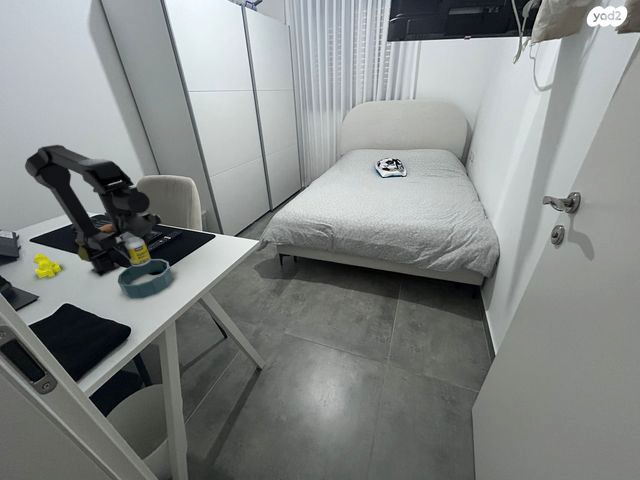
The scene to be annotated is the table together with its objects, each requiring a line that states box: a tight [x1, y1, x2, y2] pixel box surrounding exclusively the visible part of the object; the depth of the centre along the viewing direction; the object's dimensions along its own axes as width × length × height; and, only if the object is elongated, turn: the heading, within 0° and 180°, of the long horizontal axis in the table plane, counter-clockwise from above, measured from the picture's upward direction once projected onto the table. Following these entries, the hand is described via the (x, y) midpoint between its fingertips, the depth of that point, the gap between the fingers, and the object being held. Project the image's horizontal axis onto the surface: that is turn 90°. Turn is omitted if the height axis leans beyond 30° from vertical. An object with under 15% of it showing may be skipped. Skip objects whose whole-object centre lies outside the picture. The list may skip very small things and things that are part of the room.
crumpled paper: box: [33, 252, 62, 279], centre depth 91 cm, size 6×8×8 cm
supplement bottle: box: [122, 233, 152, 266], centre depth 80 cm, size 5×5×10 cm
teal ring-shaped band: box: [117, 258, 175, 299], centre depth 85 cm, size 14×14×5 cm
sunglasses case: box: [74, 222, 115, 244], centre depth 115 cm, size 18×7×7 cm
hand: (138, 254), depth 81 cm, fingers closed on supplement bottle, 5 cm apart
